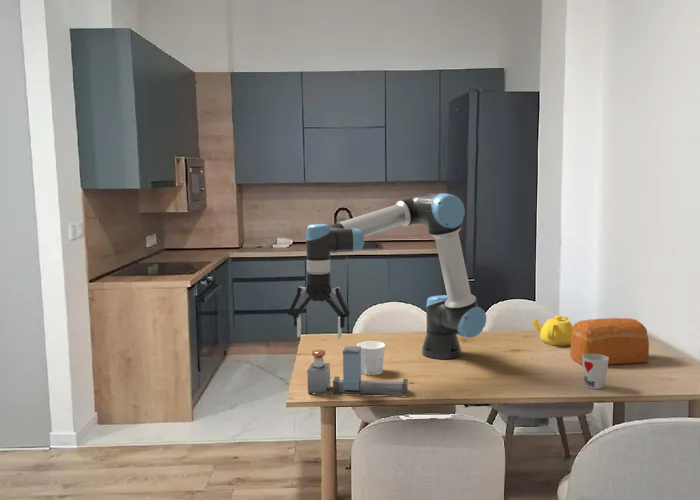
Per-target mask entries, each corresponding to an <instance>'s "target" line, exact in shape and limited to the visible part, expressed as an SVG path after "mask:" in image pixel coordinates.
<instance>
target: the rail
mask: <svg viewBox="0 0 700 500" xmlns="http://www.w3.org/2000/svg"><path fill="white" fill-rule="evenodd" d="M408 382H409V379H408V378H403V379H402V381H386V380H385V381H384V380H381V381H380V380H378V381H377V380H361V381H360V382H359V390H344V383H343V379H340V376H334V379H333V380H332V393H331V394H332V395H337V394H359V395H358V396H364V395H387V396H386V397H392V396H405V397H404V398H407V397H408V391H409V385H408Z"/></svg>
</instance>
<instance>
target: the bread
mask: <svg viewBox="0 0 700 500" xmlns="http://www.w3.org/2000/svg"><path fill="white" fill-rule="evenodd" d="M572 326H573V332H572V335H571V345H570V351H569V353H570V358H571V359H572V360H574V361H575V362H577V363H579V364H580V365H583V363H582V356H583V355H584V354H600V355H604V356H607V357H608V358H609V360H608V365H622V364H623V365H624V364H626V365H627V364H643V363H648V362H649V352H650V350H649V349H650V342H649V336H648V330H647V328H646V327H645V325H644V324H643V323H641V322H640V321H639V320H637V319H635V318H630V317H629V318H627V317H625V318H624V317H621V318H618V317H611V318H610V317H608V318H594V319H592V318H591V319H586V320H579V321H577V322H574V324H573V325H572Z"/></svg>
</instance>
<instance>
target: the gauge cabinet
mask: <svg viewBox="0 0 700 500" xmlns="http://www.w3.org/2000/svg"><path fill="white" fill-rule="evenodd" d="M329 387H331V363H330V362H323V368H314V362H312V363H311V364H310V366H309V367H308V368H307V394H308V393H315V394H314V395H323V394H326V393H327V394H328V392H327V391H329V390H330V388H329ZM328 389H329V390H328ZM327 394H326V395H327Z"/></svg>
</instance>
